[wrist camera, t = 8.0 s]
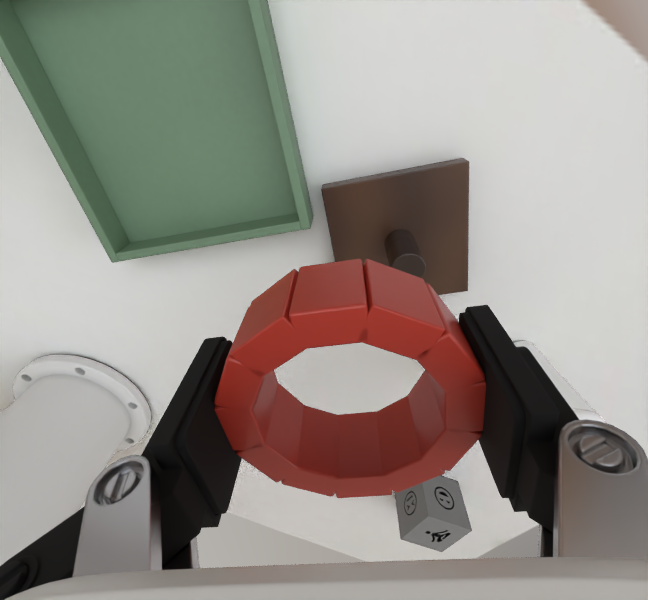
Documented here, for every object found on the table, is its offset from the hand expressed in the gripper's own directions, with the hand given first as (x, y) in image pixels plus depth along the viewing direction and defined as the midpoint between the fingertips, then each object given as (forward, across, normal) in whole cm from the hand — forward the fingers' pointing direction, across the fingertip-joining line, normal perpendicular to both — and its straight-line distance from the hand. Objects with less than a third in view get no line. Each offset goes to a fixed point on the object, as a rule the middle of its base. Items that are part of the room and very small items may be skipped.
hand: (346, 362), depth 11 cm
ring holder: (+16, -3, +2) cm, 16 cm away
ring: (0, 0, 0) cm, 0 cm away
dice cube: (+16, -5, +32) cm, 36 cm away
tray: (+16, +9, -8) cm, 20 cm away
